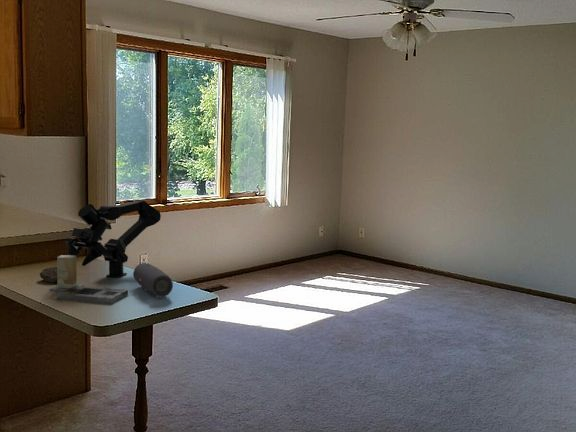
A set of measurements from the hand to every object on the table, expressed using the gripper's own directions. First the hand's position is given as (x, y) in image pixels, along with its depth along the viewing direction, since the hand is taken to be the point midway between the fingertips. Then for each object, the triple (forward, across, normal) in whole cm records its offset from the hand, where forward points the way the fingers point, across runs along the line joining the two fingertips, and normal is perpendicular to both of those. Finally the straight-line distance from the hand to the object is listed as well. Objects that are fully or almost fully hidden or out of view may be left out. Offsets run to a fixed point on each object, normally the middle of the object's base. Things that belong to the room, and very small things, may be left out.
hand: (74, 263), depth 241 cm
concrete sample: (+6, -14, +7) cm, 16 cm away
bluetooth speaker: (0, +31, +14) cm, 34 cm away
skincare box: (+9, 0, +3) cm, 9 cm away
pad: (+9, 0, +3) cm, 10 cm away
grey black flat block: (+11, +18, +1) cm, 21 cm away
